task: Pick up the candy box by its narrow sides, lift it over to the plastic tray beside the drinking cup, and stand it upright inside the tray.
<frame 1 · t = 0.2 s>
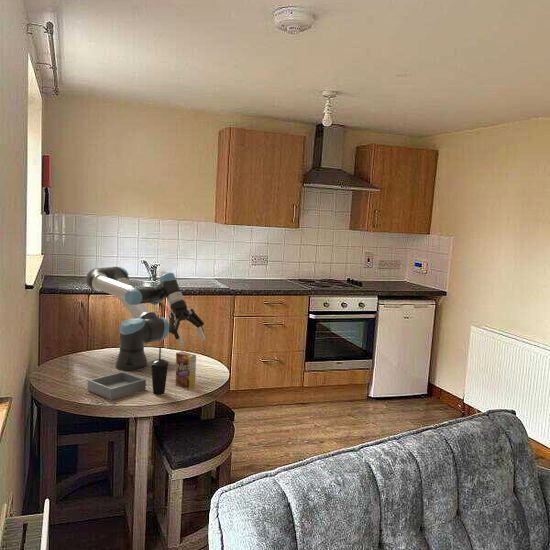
hand: (193, 342, 258), 16 cm above the table, tool tilted 35°, fingers open, 13 cm apart
drinking cup: (158, 393, 231), on the table
candy box: (185, 387, 241), on the table
tray: (116, 389, 232), on the table
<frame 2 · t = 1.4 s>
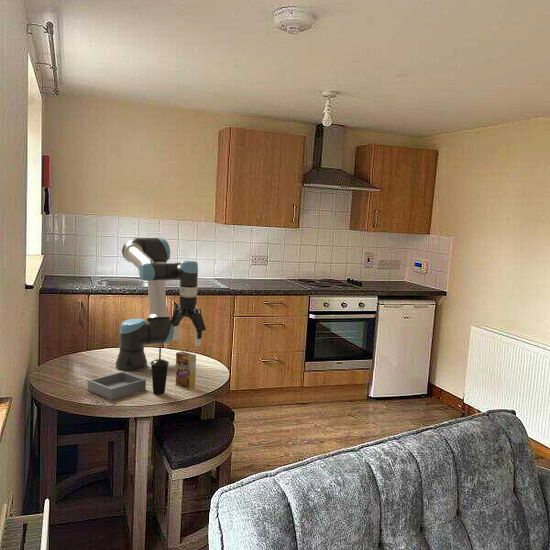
hand: (186, 343, 239), 20 cm above the table, tool pointing down, fingers open, 13 cm apart
nothing on the table moved.
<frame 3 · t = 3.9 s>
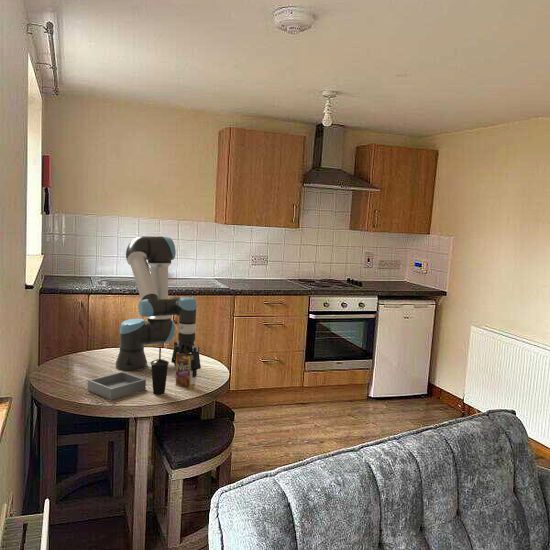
hand: (185, 381, 241), 2 cm above the table, tool pointing down, fingers closed on candy box, 9 cm apart
candy box: (185, 386, 241), on the table, touching gripper
everything else where it was.
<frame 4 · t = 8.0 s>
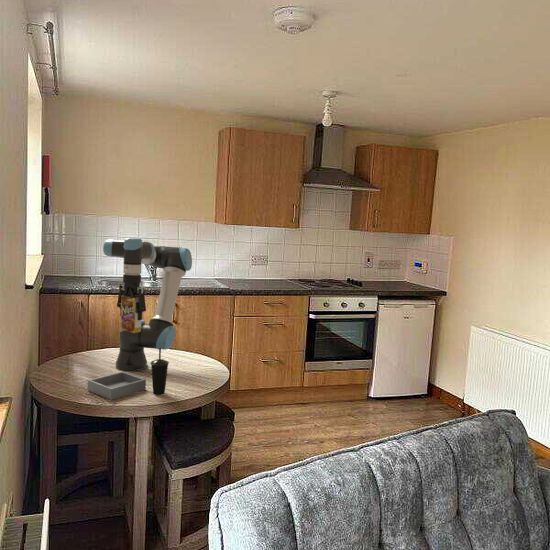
hand: (130, 325, 233), 28 cm above the table, tool pointing down, fingers closed on candy box, 9 cm apart
candy box: (130, 331, 233), point 25 cm above the table, touching gripper
everything else where it was.
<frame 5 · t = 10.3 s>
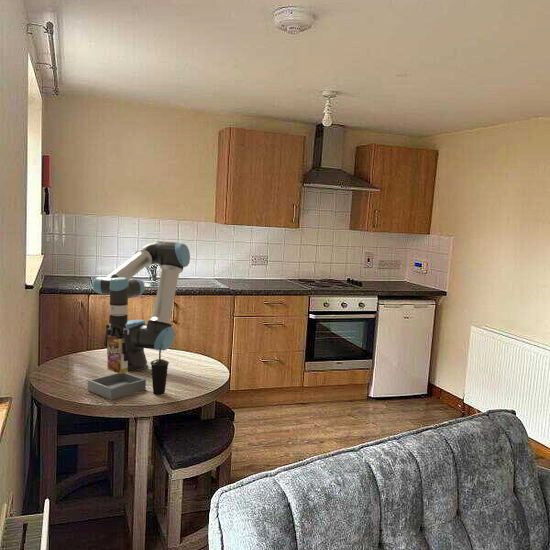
hand: (117, 365, 231), 11 cm above the table, tool pointing down, fingers closed on candy box, 9 cm apart
candy box: (117, 371, 231), point 8 cm above the table, touching gripper
everything else where it was.
when the fingers open (5 cm above the table, at t = 12.4 s): candy box drops 1 cm, resting on tray.
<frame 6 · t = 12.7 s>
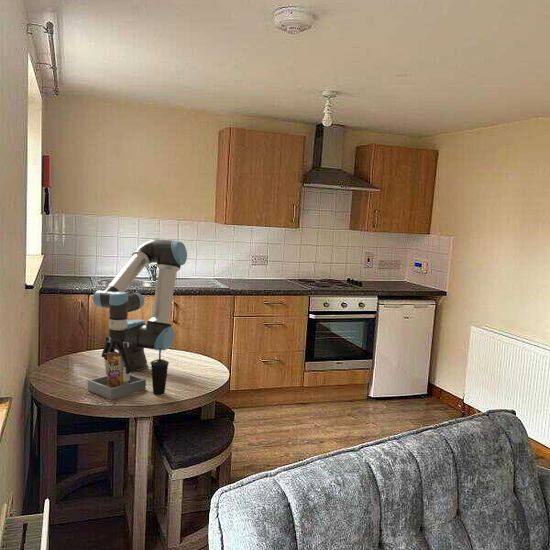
hand: (117, 377, 232), 6 cm above the table, tool pointing down, fingers open, 12 cm apart
candy box: (117, 388, 232), point 1 cm above the table, touching tray
everything else where it was.
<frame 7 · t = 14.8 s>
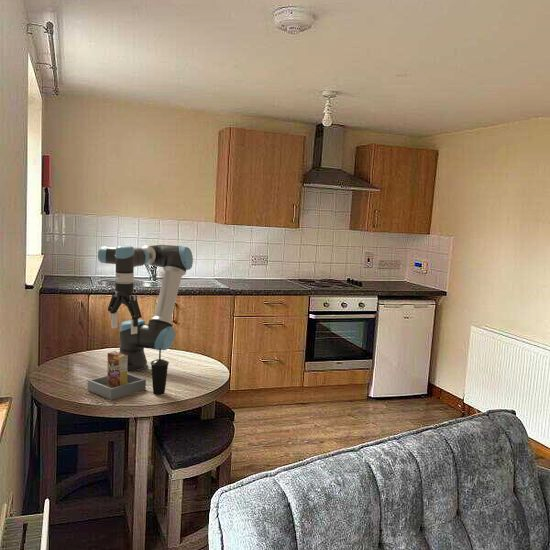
hand: (124, 330, 232), 26 cm above the table, tool pointing down, fingers open, 13 cm apart
nothing on the table moved.
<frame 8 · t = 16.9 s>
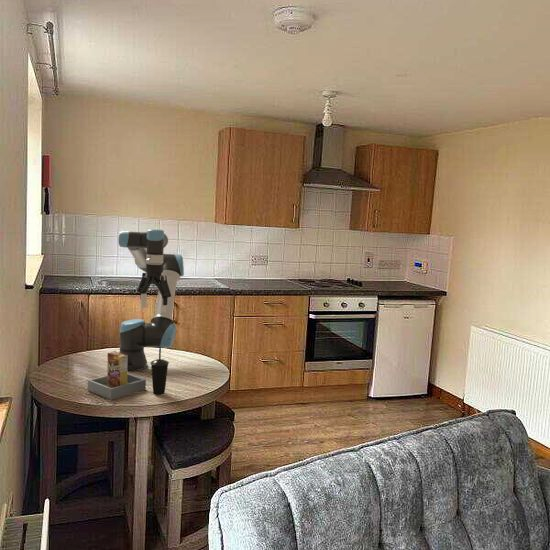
hand: (153, 310, 245), 33 cm above the table, tool pointing down, fingers open, 13 cm apart
nothing on the table moved.
at the end: candy box inside the target area on the tray (0.1 cm from its centre), point 0.8 cm above the tray's base; candy box tilted 0°; the gripper is holding nothing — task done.
